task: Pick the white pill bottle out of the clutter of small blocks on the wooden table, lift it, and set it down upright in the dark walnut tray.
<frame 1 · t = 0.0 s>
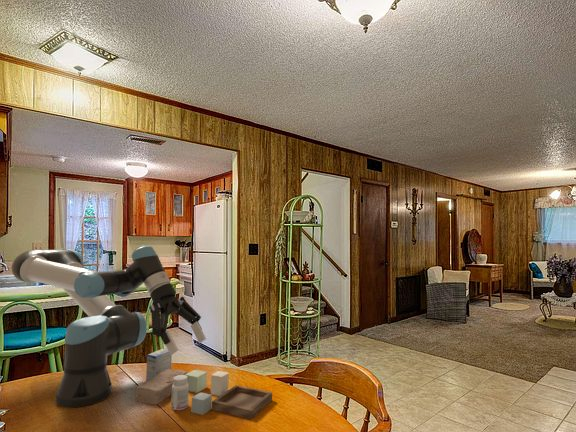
hand: (189, 346, 113), 15 cm above the table, tool tilted 35°, fingers open, 13 cm apart
blue-grey block: (201, 410, 103), on the table
cream block: (219, 393, 115), on the table
sage block: (195, 388, 118), on the table
tray: (242, 404, 107), on the table
pill bottle: (179, 407, 105), on the table
medicine box: (158, 377, 128), on the table
brick: (162, 393, 116), on the table
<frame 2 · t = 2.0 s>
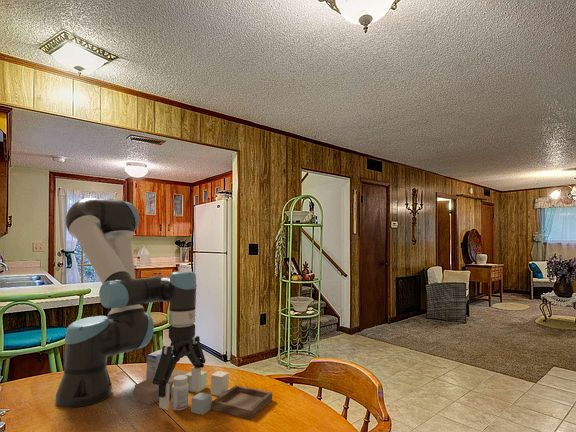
hand: (180, 398, 105), 2 cm above the table, tool pointing down, fingers open, 13 cm apart
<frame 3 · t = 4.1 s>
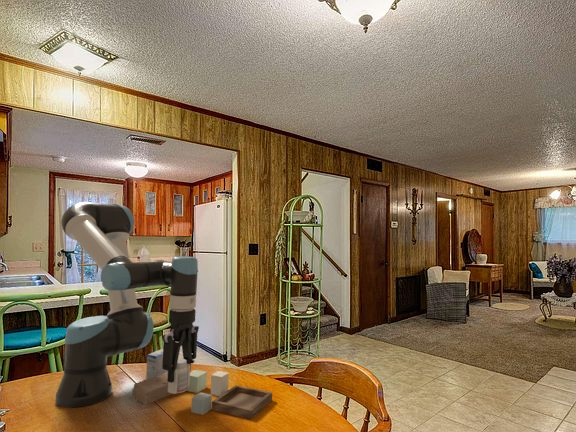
hand: (178, 388, 106), 5 cm above the table, tool pointing down, fingers closed on pill bottle, 5 cm apart
pill bottle: (178, 390, 106), point 4 cm above the table, touching gripper
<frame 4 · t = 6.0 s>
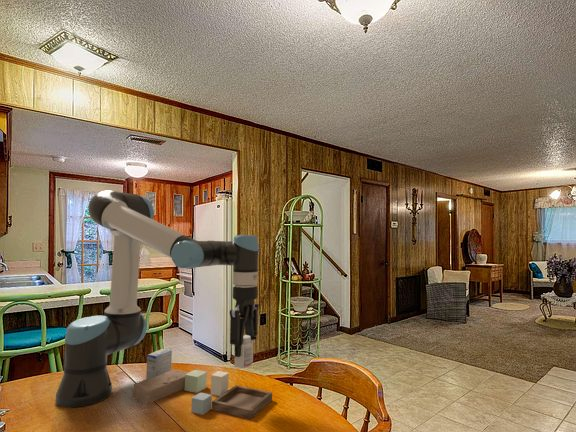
hand: (243, 364, 108), 12 cm above the table, tool pointing down, fingers closed on pill bottle, 5 cm apart
pill bottle: (243, 365, 108), point 11 cm above the table, touching gripper
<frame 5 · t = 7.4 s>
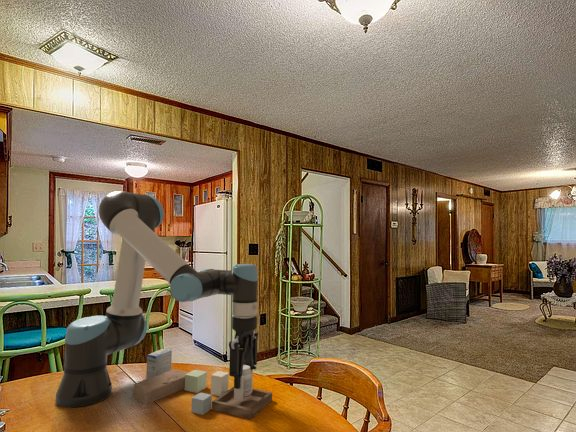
hand: (243, 395, 107), 3 cm above the table, tool pointing down, fingers closed on pill bottle, 5 cm apart
pill bottle: (243, 396, 107), point 2 cm above the table, touching gripper
when the fingers open (2 cm above the table, at t = 8.3 s): pill bottle stays where it is, resting on tray.
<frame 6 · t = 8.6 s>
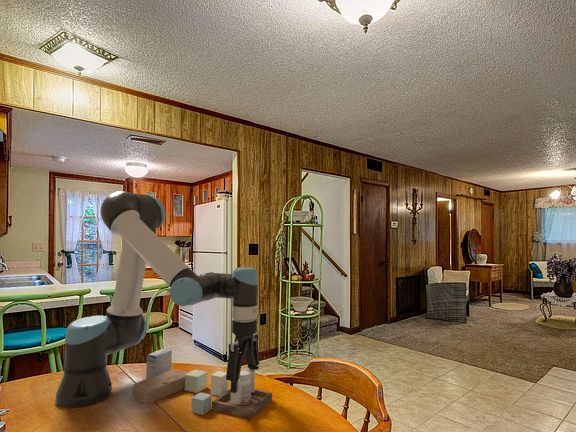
hand: (243, 396, 107), 2 cm above the table, tool pointing down, fingers open, 8 cm apart
pill bottle: (242, 402, 107), point 1 cm above the table, touching tray
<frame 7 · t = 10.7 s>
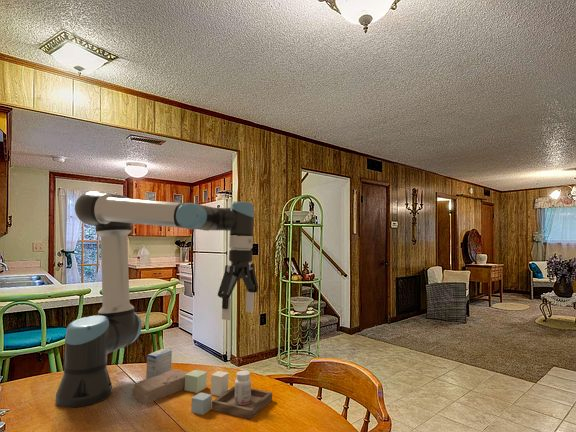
hand: (238, 315, 116), 25 cm above the table, tool pointing down, fingers open, 13 cm apart
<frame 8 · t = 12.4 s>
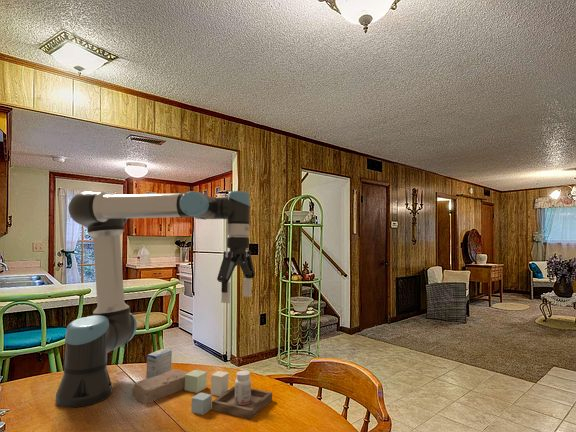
hand: (236, 299, 122), 29 cm above the table, tool pointing down, fingers open, 13 cm apart
at the end: pill bottle inside the target area on the tray (0.1 cm from its centre), point 0.6 cm above the tray's base; pill bottle tilted 0°; the gripper is holding nothing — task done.
